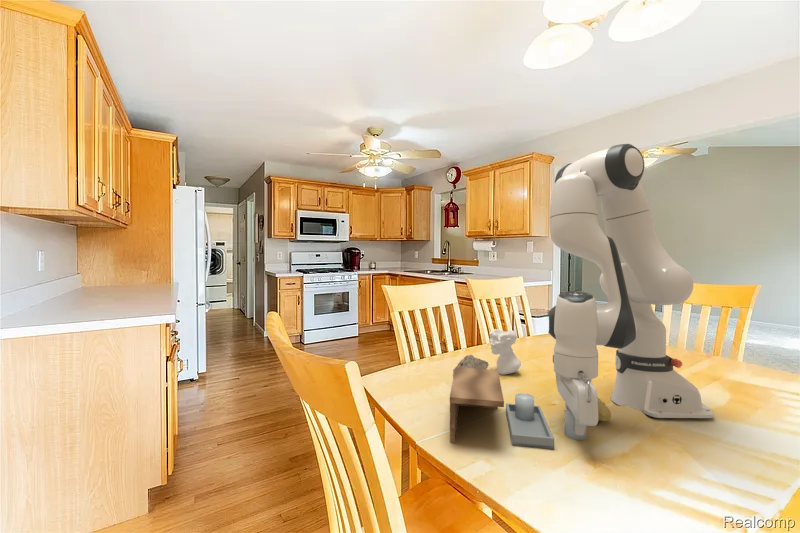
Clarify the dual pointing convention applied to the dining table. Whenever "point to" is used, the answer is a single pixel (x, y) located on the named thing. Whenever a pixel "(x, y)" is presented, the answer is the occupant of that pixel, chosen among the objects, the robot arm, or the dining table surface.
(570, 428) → the pillar candle
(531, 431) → the tray
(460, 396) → the counter
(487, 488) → the dining table surface
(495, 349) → the small white figurine
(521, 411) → the pale grey cylinder
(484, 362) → the rock
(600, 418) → the potato
